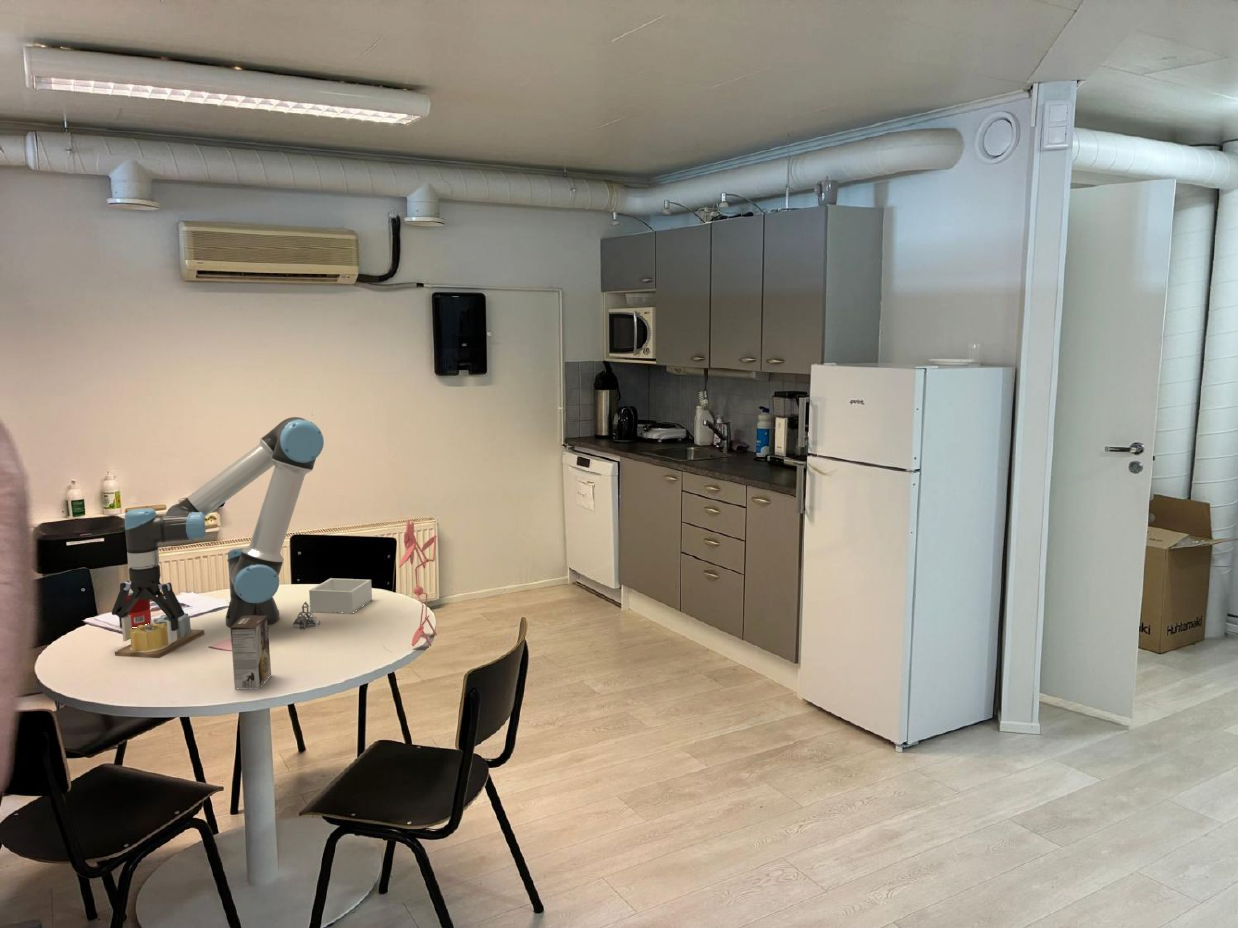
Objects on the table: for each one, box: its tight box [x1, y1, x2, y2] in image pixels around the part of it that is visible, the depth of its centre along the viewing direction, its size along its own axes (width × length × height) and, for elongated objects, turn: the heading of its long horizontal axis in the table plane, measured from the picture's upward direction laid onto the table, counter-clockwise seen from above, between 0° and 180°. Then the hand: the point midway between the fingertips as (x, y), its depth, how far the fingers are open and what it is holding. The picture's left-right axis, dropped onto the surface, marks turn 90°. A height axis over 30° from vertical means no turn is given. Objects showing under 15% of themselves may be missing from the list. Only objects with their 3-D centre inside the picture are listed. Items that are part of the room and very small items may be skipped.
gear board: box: [114, 629, 205, 659], centre depth 245 cm, size 13×20×1 cm, turn 172°
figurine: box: [398, 519, 443, 647], centre depth 245 cm, size 15×26×35 cm, turn 2°
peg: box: [144, 623, 154, 631], centre depth 240 cm, size 2×2×6 cm
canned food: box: [118, 589, 152, 627], centre depth 262 cm, size 8×8×11 cm
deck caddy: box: [308, 577, 373, 614], centre depth 280 cm, size 14×14×7 cm
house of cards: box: [292, 601, 321, 629], centre depth 259 cm, size 9×9×8 cm
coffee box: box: [230, 615, 272, 690], centre depth 216 cm, size 9×6×16 cm
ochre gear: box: [130, 622, 169, 652], centre depth 240 cm, size 9×9×5 cm
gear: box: [153, 612, 192, 638], centre depth 250 cm, size 9×9×6 cm
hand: (150, 640), depth 240 cm, fingers open, 13 cm apart
